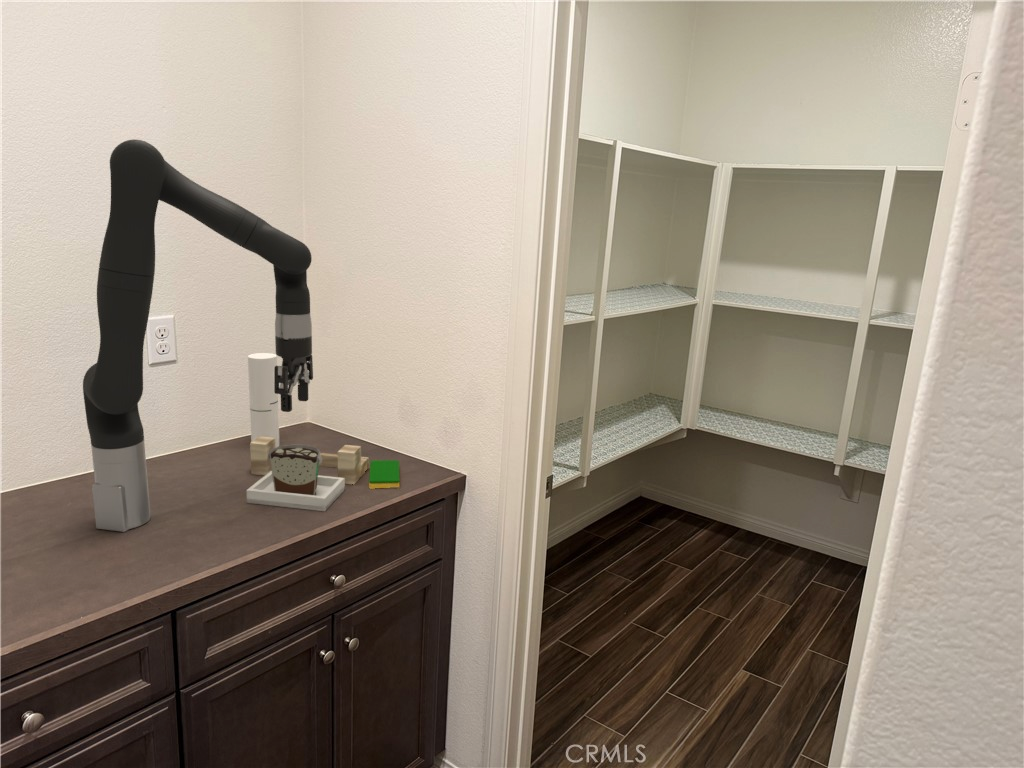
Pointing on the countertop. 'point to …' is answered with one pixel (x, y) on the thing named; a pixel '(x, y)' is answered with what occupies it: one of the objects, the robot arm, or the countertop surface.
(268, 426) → the cylindrical container
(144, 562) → the countertop surface
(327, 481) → the tray
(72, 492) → the countertop surface
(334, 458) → the holder
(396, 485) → the dish sponge
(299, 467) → the food container
